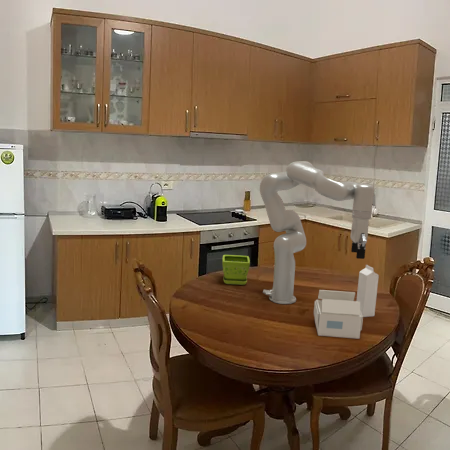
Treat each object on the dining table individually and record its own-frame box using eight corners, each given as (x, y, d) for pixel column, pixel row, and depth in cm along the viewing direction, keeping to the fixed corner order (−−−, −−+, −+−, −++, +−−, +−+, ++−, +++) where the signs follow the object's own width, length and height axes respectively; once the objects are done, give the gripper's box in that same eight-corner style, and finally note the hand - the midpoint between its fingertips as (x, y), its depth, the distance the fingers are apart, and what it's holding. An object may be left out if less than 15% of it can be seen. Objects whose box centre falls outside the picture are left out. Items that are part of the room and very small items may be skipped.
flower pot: (248, 286, 248) (250, 262, 245) (221, 285, 248) (222, 261, 245) (247, 278, 261) (249, 255, 259) (221, 277, 261) (222, 254, 259)
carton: (316, 335, 193) (318, 313, 191) (312, 319, 209) (314, 299, 207) (361, 338, 192) (363, 317, 190) (354, 322, 207) (356, 302, 205)
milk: (362, 317, 214) (367, 268, 209) (355, 312, 220) (359, 264, 215) (374, 316, 216) (379, 268, 211) (367, 311, 221) (371, 264, 217)
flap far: (353, 301, 205) (353, 300, 205) (355, 292, 202) (355, 292, 202) (318, 298, 206) (318, 297, 207) (319, 290, 203) (319, 289, 203)
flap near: (321, 312, 191) (321, 312, 191) (322, 298, 193) (322, 298, 193) (359, 315, 190) (360, 314, 190) (359, 301, 192) (360, 301, 191)
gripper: (348, 210, 208) (344, 249, 211) (357, 218, 191) (352, 260, 194) (366, 211, 207) (362, 250, 211) (376, 219, 191) (372, 261, 194)
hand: (357, 255), depth 203 cm, fingers open, 9 cm apart
